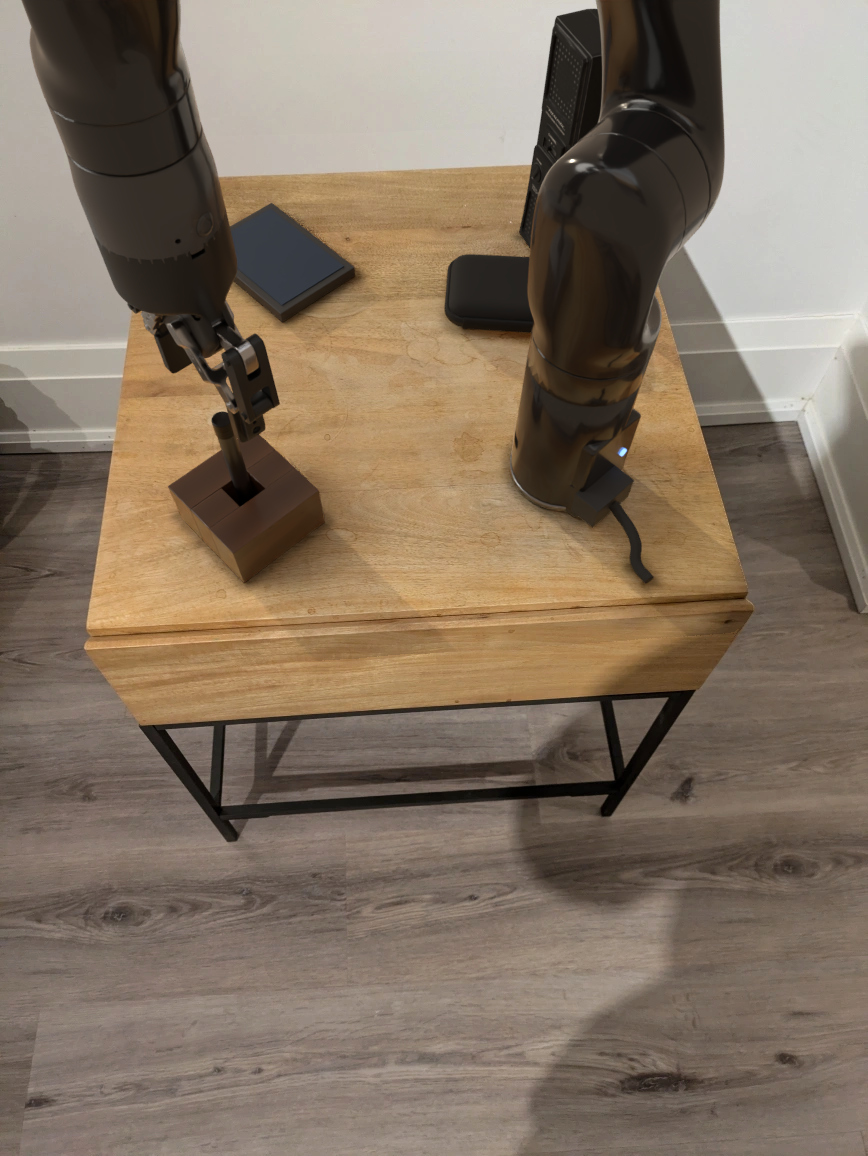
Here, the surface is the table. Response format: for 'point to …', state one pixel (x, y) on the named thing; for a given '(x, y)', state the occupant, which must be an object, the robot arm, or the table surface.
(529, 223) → the portable radio
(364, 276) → the table surface
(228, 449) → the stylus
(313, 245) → the tablet
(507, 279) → the carrying case
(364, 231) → the table surface
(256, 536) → the pen stand
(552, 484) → the robot arm
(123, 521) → the table surface
